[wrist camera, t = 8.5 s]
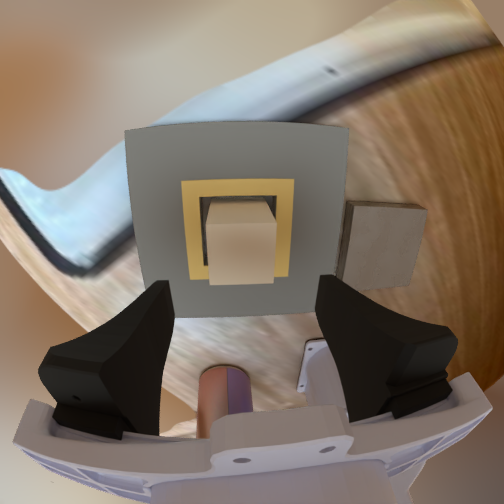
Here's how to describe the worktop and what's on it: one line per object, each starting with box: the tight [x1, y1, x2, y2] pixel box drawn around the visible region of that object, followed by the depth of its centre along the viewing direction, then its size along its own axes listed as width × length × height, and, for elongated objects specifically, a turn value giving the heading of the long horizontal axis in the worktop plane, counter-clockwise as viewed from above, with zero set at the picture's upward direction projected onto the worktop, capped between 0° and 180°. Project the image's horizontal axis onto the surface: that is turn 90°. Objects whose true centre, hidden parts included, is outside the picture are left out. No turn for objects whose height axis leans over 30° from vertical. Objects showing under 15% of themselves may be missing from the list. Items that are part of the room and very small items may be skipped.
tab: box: [336, 201, 428, 291], centre depth 23 cm, size 8×8×2 cm
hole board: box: [125, 121, 349, 318], centre depth 21 cm, size 16×16×2 cm
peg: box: [206, 197, 277, 285], centre depth 19 cm, size 4×4×6 cm
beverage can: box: [196, 366, 253, 439], centre depth 23 cm, size 6×6×15 cm
